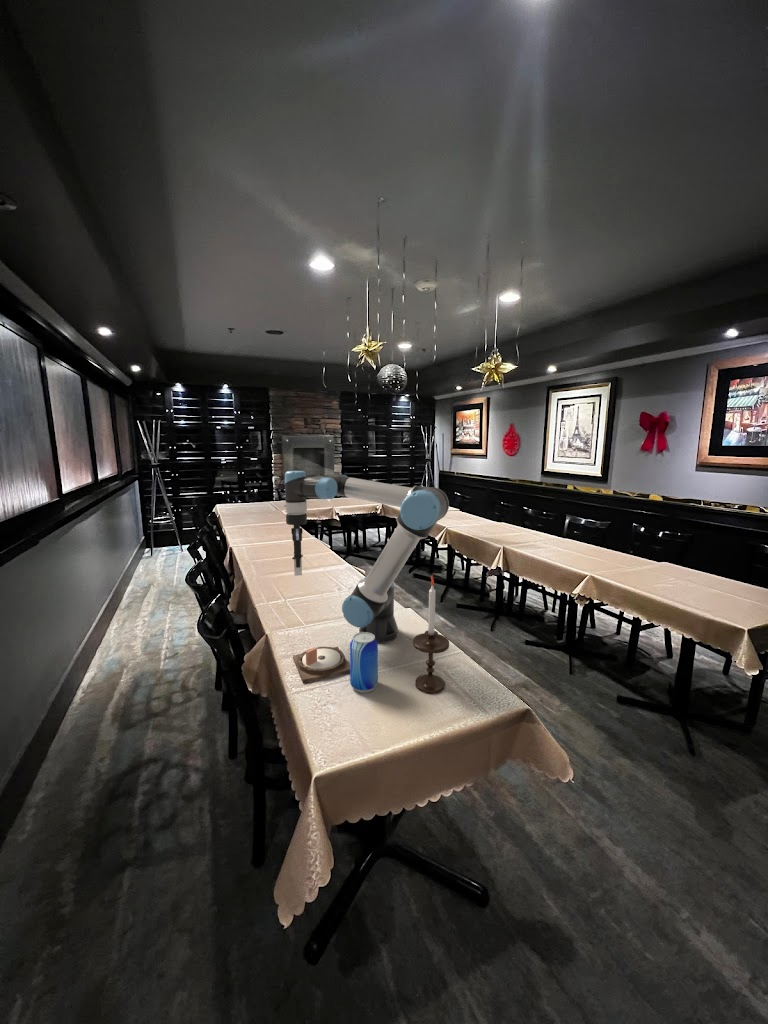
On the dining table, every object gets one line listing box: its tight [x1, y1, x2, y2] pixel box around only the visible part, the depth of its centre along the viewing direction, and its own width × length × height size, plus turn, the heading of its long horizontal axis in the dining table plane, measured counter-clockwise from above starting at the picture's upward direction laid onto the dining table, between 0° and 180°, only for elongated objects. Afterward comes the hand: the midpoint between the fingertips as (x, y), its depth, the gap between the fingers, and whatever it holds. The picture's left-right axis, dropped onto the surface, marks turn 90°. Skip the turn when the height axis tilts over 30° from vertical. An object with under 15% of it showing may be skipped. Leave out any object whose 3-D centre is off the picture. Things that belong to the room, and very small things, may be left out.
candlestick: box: [412, 574, 450, 695], centre depth 121 cm, size 11×11×35 cm
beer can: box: [349, 632, 379, 694], centre depth 121 cm, size 8×8×16 cm
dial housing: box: [292, 646, 350, 684], centre depth 134 cm, size 16×16×3 cm
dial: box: [302, 647, 341, 669], centre depth 134 cm, size 13×13×6 cm
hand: (298, 574), depth 151 cm, fingers closed
